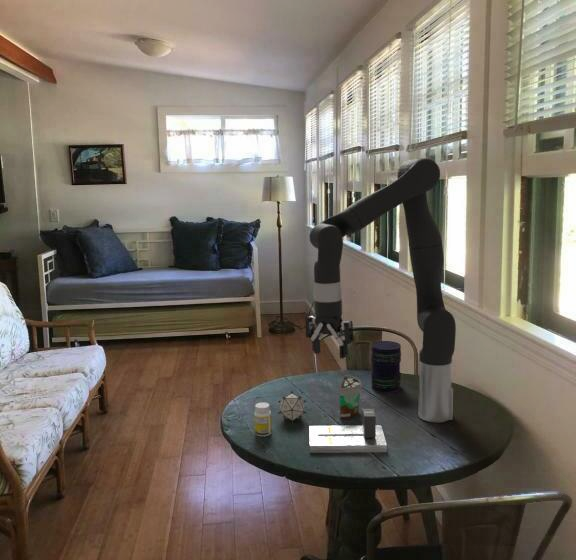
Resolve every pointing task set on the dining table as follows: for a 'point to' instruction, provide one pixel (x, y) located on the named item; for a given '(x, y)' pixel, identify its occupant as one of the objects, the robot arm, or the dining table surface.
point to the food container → (350, 397)
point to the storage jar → (386, 366)
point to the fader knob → (369, 423)
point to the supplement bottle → (262, 419)
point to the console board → (345, 439)
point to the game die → (292, 406)
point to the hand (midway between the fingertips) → (329, 355)
